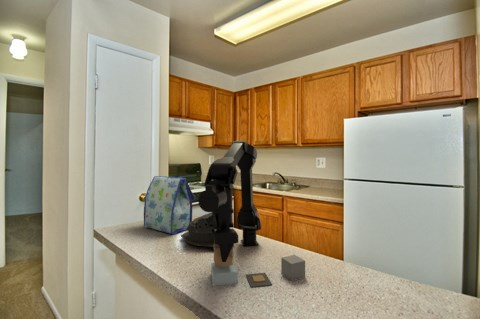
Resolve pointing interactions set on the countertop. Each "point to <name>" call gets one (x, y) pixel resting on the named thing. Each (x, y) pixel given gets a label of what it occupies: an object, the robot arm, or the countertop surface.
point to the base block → (224, 274)
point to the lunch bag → (168, 204)
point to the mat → (258, 280)
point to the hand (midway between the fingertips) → (222, 257)
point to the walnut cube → (218, 257)
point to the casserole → (199, 236)
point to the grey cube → (293, 267)
